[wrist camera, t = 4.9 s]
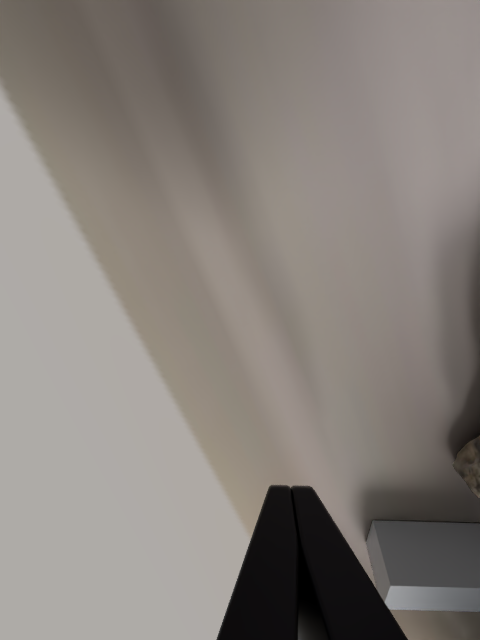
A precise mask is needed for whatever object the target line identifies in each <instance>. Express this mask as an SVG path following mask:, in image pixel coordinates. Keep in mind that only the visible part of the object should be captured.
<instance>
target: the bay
mask: <svg viewBox="0 0 480 640" xmlns="http://www.w3.org/2000/svg"><path fill="white" fill-rule="evenodd" d="M366 546H367V550H368V554H369V558H370V562H371V566H372V570H373V574H374V578H375V583H376V587H377V591H378V593H379V594H380V596H381V597H382V599H383V601H384V602H385V604H386V605H387V607H388V609H391V610H427V611H463V612H480V524H479V523H445V522H412V521H378V520H373V521H372V525H371V528H370V532H369V535H368V538H367V542H366Z"/></svg>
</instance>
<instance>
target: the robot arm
mask: <svg viewBox="0 0 480 640" xmlns="http://www.w3.org/2000/svg"><path fill="white" fill-rule="evenodd" d="M217 640H408V639H407V637H406V636H405V634H404V633H403V631H402V629H401V628H400V626H399V625H398V623H397V621H396V620H395V618H394V617H393V615H392V613H391V612H390V610H389V609H388V607H387V605H386V604H385V602H384V601H383V599H382V597H381V596H380V594H379V593H378V591H377V589H376V588H375V586H374V585H373V583H372V581H371V580H370V578H369V577H368V575H367V573H366V572H365V570H364V569H363V567H362V565H361V564H360V562H359V561H358V559H357V557H356V556H355V554H354V553H353V551H352V549H351V548H350V546H349V545H348V543H347V541H346V540H345V538H344V537H343V535H342V533H341V532H340V530H339V529H338V527H337V525H336V524H335V522H334V521H333V519H332V517H331V516H330V514H329V513H328V511H327V509H326V508H325V506H324V505H323V503H322V501H321V500H320V498H319V497H318V495H317V493H316V492H315V490H314V489H313V488H312V487H310V486H292V487H291V488H290V487H289V486H287V485H271V486H270V487H269V489H268V491H267V494H266V497H265V500H264V503H263V506H262V509H261V512H260V515H259V518H258V520H257V523H256V526H255V529H254V532H253V535H252V538H251V541H250V544H249V547H248V550H247V552H246V555H245V558H244V561H243V564H242V567H241V570H240V573H239V576H238V579H237V581H236V584H235V587H234V591H233V593H232V596H231V599H230V602H229V605H228V608H227V611H226V613H225V616H224V619H223V622H222V625H221V628H220V631H219V634H218V637H217Z"/></svg>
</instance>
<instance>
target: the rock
mask: <svg viewBox="0 0 480 640" xmlns="http://www.w3.org/2000/svg"><path fill="white" fill-rule="evenodd" d="M452 466H453V467H454V469H455V470H456V471H457V472H458V473H459V474H460V476H461V477H462V478H463V479H464V480H465V482H466V483H467V484H468V486H469V488H470V489H471V491H472V492H473V493H474V494H475V495H476V496H477V497H478V498H479V499H480V435H479V436H478V437H477V438H475V439H473V440H471V441H469V442H468V443H467V444H466V445H465V446H464V447H463V448H462V449H461V450H460V451H459V452H458V453H457V457H456V460H455V462H454V463H453V464H452Z"/></svg>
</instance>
